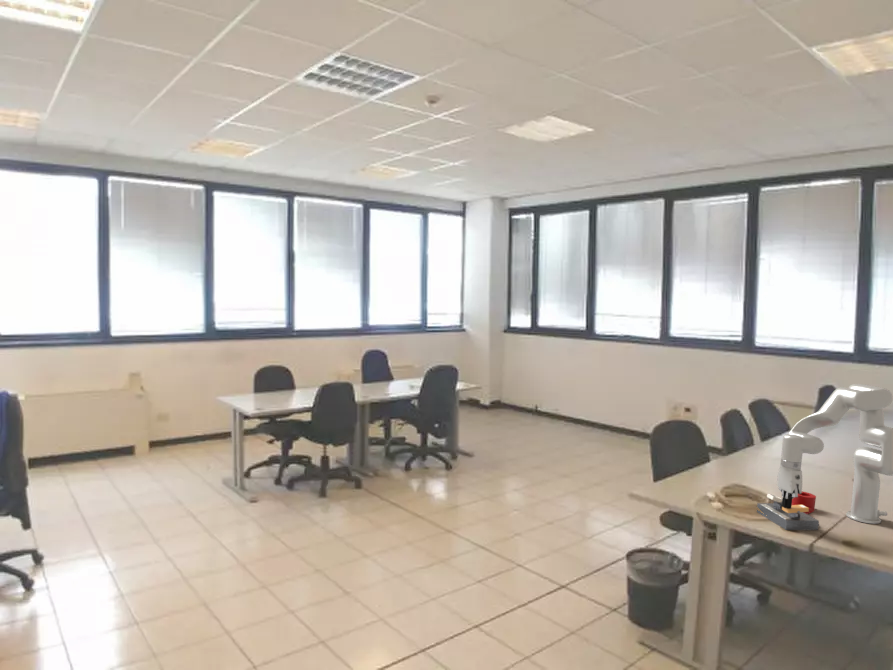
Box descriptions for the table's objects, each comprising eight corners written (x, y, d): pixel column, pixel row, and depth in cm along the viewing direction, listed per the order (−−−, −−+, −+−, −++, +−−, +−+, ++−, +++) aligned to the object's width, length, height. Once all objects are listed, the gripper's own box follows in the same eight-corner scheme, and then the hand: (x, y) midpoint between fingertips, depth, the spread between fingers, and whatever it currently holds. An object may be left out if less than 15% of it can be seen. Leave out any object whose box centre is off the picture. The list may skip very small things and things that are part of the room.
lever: (791, 503, 281) (793, 489, 281) (815, 508, 276) (817, 494, 275) (786, 512, 267) (787, 498, 267) (810, 518, 261) (812, 503, 261)
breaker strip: (786, 512, 269) (787, 500, 268) (817, 530, 249) (819, 516, 249) (756, 512, 268) (757, 499, 267) (786, 529, 248) (787, 516, 247)
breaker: (783, 503, 267) (785, 499, 267) (790, 507, 262) (792, 503, 262) (765, 496, 266) (767, 492, 266) (772, 500, 261) (774, 496, 261)
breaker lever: (801, 508, 256) (801, 504, 256) (809, 512, 251) (809, 508, 251) (781, 510, 255) (781, 505, 255) (788, 514, 250) (788, 509, 250)
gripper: (811, 470, 244) (807, 514, 245) (787, 459, 259) (783, 501, 260) (794, 469, 243) (789, 513, 245) (771, 459, 258) (766, 501, 259)
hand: (786, 507), depth 252 cm, fingers closed
